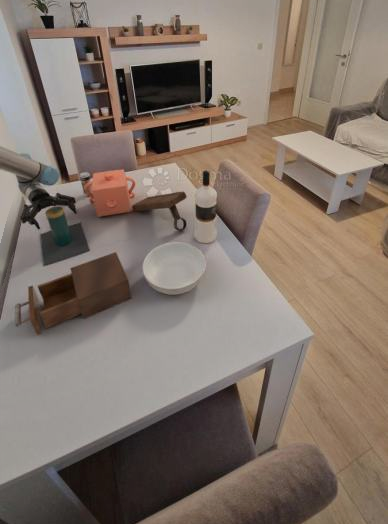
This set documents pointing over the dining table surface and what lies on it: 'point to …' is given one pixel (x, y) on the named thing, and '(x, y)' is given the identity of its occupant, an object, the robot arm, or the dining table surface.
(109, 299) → the cabinet
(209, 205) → the vodka
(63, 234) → the tin
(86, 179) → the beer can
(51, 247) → the mat
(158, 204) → the bottle opener
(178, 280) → the serving bowl
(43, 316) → the drawer
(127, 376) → the dining table surface
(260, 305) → the dining table surface
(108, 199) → the orange box
